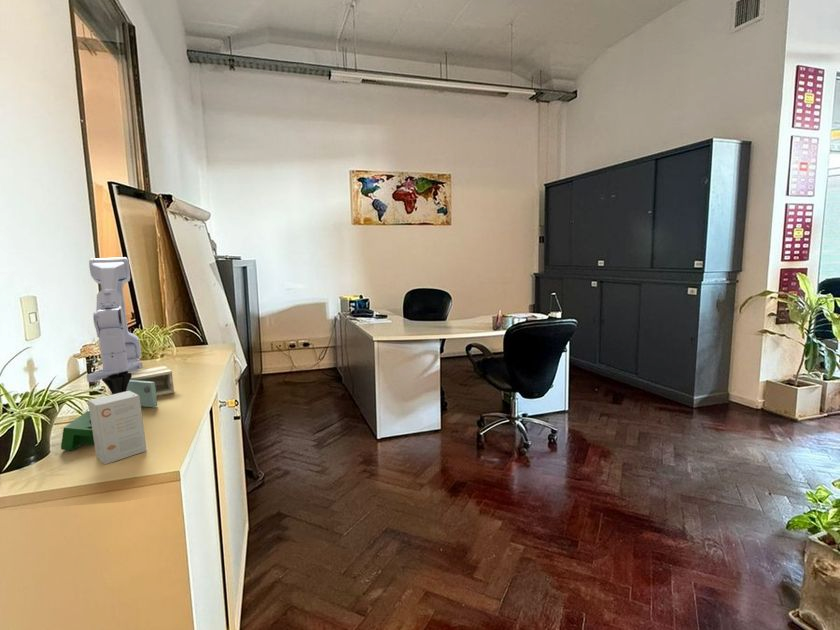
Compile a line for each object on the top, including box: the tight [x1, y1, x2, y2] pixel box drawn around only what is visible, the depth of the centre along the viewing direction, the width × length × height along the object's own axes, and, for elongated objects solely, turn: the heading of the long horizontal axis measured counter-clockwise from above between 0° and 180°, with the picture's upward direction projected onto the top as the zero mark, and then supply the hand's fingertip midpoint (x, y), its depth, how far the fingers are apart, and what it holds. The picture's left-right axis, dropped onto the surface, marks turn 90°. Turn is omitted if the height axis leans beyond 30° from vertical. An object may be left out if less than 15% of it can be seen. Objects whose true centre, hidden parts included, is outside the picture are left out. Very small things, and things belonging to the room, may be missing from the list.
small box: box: [87, 391, 147, 465], centre depth 97 cm, size 8×6×13 cm
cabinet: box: [128, 365, 175, 397], centre depth 140 cm, size 10×14×7 cm
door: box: [126, 380, 158, 408], centre depth 129 cm, size 2×14×7 cm, turn 72°
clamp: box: [60, 410, 95, 451], centre depth 105 cm, size 12×6×9 cm, turn 9°
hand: (119, 400), depth 123 cm, fingers closed
